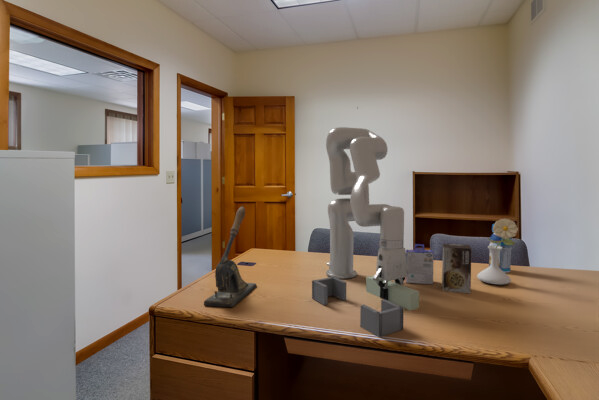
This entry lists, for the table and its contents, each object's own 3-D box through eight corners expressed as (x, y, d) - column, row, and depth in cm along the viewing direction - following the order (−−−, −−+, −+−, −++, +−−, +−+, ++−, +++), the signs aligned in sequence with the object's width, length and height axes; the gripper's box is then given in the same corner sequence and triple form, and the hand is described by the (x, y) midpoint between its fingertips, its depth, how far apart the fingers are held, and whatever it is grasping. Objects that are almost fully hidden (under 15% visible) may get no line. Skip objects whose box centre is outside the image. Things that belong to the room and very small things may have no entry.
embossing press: (200, 306, 110) (198, 212, 108) (233, 283, 133) (232, 205, 131) (232, 309, 108) (230, 213, 105) (260, 285, 130) (259, 206, 128)
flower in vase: (472, 282, 133) (475, 218, 131) (481, 276, 141) (484, 215, 139) (512, 290, 124) (515, 221, 122) (519, 283, 132) (522, 218, 130)
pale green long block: (366, 292, 123) (366, 277, 123) (374, 290, 125) (374, 275, 125) (409, 311, 106) (410, 293, 106) (418, 308, 108) (419, 291, 108)
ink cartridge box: (431, 280, 136) (432, 244, 135) (433, 284, 131) (434, 246, 129) (405, 279, 138) (405, 243, 137) (406, 283, 133) (407, 245, 131)
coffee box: (468, 288, 127) (469, 244, 125) (470, 294, 121) (472, 248, 119) (441, 285, 130) (442, 243, 128) (442, 291, 123) (443, 246, 122)
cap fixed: (360, 326, 95) (360, 305, 95) (384, 319, 99) (384, 299, 99) (378, 337, 89) (379, 314, 88) (403, 329, 93) (403, 307, 93)
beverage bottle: (511, 274, 144) (513, 226, 142) (487, 271, 148) (489, 225, 146) (510, 269, 151) (512, 223, 149) (488, 267, 155) (490, 222, 154)
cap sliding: (312, 298, 116) (312, 280, 116) (333, 293, 121) (333, 276, 120) (324, 305, 110) (324, 286, 110) (346, 299, 115) (346, 282, 114)
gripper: (380, 249, 107) (379, 306, 108) (418, 243, 115) (417, 296, 117) (364, 244, 113) (363, 298, 115) (401, 239, 122) (400, 290, 123)
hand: (390, 297), depth 116 cm, fingers open, 5 cm apart
